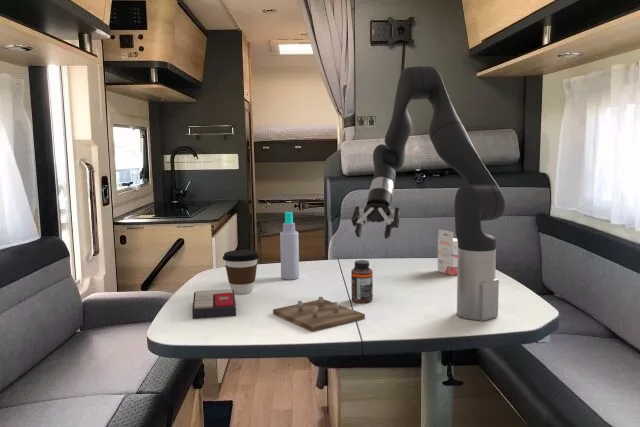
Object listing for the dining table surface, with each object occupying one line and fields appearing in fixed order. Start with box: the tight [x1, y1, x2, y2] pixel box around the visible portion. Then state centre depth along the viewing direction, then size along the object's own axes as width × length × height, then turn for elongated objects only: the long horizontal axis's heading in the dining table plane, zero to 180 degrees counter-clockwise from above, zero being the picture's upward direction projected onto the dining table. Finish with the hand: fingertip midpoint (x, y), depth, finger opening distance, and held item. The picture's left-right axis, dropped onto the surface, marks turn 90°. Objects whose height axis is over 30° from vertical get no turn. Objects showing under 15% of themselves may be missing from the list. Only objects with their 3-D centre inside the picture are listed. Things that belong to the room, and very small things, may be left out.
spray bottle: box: [279, 211, 300, 281], centre depth 180 cm, size 6×6×22 cm
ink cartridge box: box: [437, 229, 458, 277], centre depth 185 cm, size 9×5×15 cm, turn 25°
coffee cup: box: [222, 249, 260, 295], centre depth 164 cm, size 11×11×12 cm
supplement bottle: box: [350, 259, 374, 304], centre depth 152 cm, size 6×6×11 cm
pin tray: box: [272, 296, 366, 333], centre depth 139 cm, size 18×16×4 cm
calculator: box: [191, 288, 237, 320], centre depth 146 cm, size 11×4×15 cm
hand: (371, 236), depth 162 cm, fingers open, 8 cm apart
